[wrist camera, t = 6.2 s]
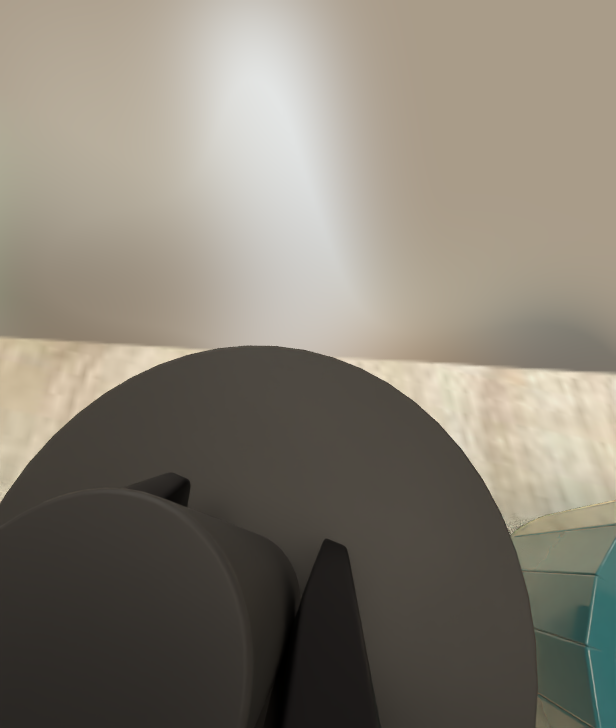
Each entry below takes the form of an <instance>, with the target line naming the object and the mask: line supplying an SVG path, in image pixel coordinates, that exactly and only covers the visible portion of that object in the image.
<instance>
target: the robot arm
mask: <svg viewBox="0 0 616 728" xmlns="http://www.w3.org/2000/svg"><path fill="white" fill-rule="evenodd" d="M123 488H126V489H132V490H137V491H143V492H146V493H149V494H152V495H155V496H158V497H161V498H164V499H167V500H169V501H172V502H174V503H177V504H180V505H182V506H185V507H188V500H189V494H190V488H191V483H190V481H189V480H188V479H187V478H185V477H182V476H180V475H178V474H175V473H172V472H169V473H165V474H162V475H159V476H156V477H153V478H150V479H147V480H144V481H141V482H138V483H135V484H132V485H129V486H126V487H123ZM263 728H381V725H380V720H379V714H378V709H377V704H376V698H375V693H374V688H373V682H372V677H371V671H370V666H369V661H368V655H367V650H366V645H365V639H364V634H363V629H362V623H361V618H360V613H359V607H358V602H357V597H356V591H355V586H354V580H353V575H352V570H351V564H350V559H349V554H348V550H347V548H346V547H345V546H344V545H342V544H339V543H337V542H335V541H332V540H330V539H324V540H323V542H322V545H321V547H320V550H319V553H318V555H317V558H316V560H315V563H314V566H313V568H312V571H311V573H310V576H309V579H308V581H307V584H306V586H305V590H304V593H303V596H302V599H301V602H300V605H299V608H298V611H297V614H296V617H295V620H294V623H293V626H292V629H291V632H290V635H289V639H288V643H287V647H286V651H285V654H284V658H283V661H282V664H281V666H280V669H279V671H278V673H277V676H276V678H275V681H274V685H273V689H272V692H271V696H270V700H269V704H268V708H267V713H266V717H265V721H264V725H263Z"/></svg>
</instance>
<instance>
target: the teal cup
mask: <svg viewBox="0 0 616 728" xmlns="http://www.w3.org/2000/svg"><path fill="white" fill-rule="evenodd" d="M510 537H511V539H512V542H513V544H514V547H515V549H516V552H517V555H518V559H519V562H520V566H521V569H522V573H523V577H524V580H525V584H526V587H527V591H528V595H529V601H530V607H531V613H532V620H533V626H534V632H535V638H536V655H537V676H538V697H537V712H536V727H535V728H616V500H613V501H608V502H603V503H598V504H593V505H589V506H584V507H579V508H574V509H570V510H566V511H562V512H557V513H553V514H549V515H545V516H542V517H539V518H537V519H535V520H532V521H530V522H528V523H527V524H525V525H524V526H522V527H520V528H519V529H517V530H516V531H515V532H514V533H513V534H512V535H510Z"/></svg>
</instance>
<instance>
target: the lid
mask: <svg viewBox="0 0 616 728" xmlns="http://www.w3.org/2000/svg"><path fill="white" fill-rule="evenodd" d="M169 472H172V473H175V474H178V475H180V476H182V477H185V478H187V479H188V480H189V481H190V483H191V488H190V494H189V500H188V507H185V506H182V505H180V504H177V503H174V502H172V501H169V500H167V499H164V498H161V497H158V496H155V495H152V494H149V493H146V492H143V491H137V490H132V489H126V488H123V487H126V486H129V485H132V484H135V483H138V482H141V481H144V480H147V479H150V478H153V477H156V476H159V475H162V474H165V473H169ZM324 539H330V540H332V541H335V542H337V543H339V544H342V545H344V546H345V547H346V548H347V550H348V554H349V559H350V564H351V570H352V575H353V580H354V586H355V591H356V597H357V602H358V607H359V613H360V618H361V623H362V629H363V634H364V639H365V645H366V650H367V655H368V661H369V666H370V671H371V677H372V682H373V688H374V693H375V698H376V704H377V709H378V714H379V720H380V725H381V728H535V727H536V712H537V697H538V676H537V655H536V638H535V632H534V626H533V620H532V613H531V607H530V601H529V595H528V591H527V587H526V584H525V580H524V577H523V573H522V569H521V566H520V562H519V559H518V555H517V552H516V549H515V547H514V544H513V542H512V539H511V537H510V534H509V532H508V529H507V527H506V524H505V522H504V519H503V517H502V514H501V512H500V511H499V509H498V507H497V505H496V503H495V501H494V499H493V498H492V496H491V494H490V492H489V490H488V488H487V486H486V485H485V483H484V481H483V479H482V478H481V476H480V475H479V473H478V472H477V471H476V469H475V468H474V466H473V465H472V463H471V462H470V461H469V459H468V458H467V456H466V455H465V453H464V452H463V451H462V449H461V448H460V447H459V446H458V445H457V444H456V442H455V441H454V440H453V439H452V438H451V437H450V436H449V435H448V433H447V432H446V431H445V430H444V429H443V428H442V427H441V425H440V424H439V423H438V422H437V421H435V420H434V419H433V418H432V417H431V416H430V415H429V414H428V413H426V412H425V411H424V410H423V409H422V408H421V407H420V406H419V405H418V404H416V403H415V402H414V401H413V400H411V399H410V398H409V397H407V396H406V395H404V394H403V393H401V392H400V391H399V390H397V389H396V388H394V387H393V386H392V385H390V384H389V383H387V382H385V381H383V380H381V379H380V378H378V377H376V376H374V375H372V374H370V373H368V372H367V371H365V370H363V369H361V368H359V367H356V366H353V365H351V364H348V363H346V362H343V361H341V360H338V359H336V358H333V357H329V356H325V355H322V354H318V353H314V352H310V351H306V350H300V349H293V348H286V347H278V346H238V347H228V348H218V349H213V350H208V351H204V352H199V353H194V354H190V355H186V356H183V357H180V358H177V359H174V360H171V361H168V362H166V363H163V364H160V365H158V366H155V367H153V368H151V369H149V370H147V371H145V372H142V373H140V374H138V375H136V376H134V377H132V378H130V379H128V380H127V381H125V382H123V383H122V384H120V385H118V386H116V387H115V388H113V389H111V390H110V391H108V392H106V393H105V394H103V395H102V396H101V397H99V398H98V399H97V400H95V401H94V402H93V403H91V404H90V405H89V406H87V407H86V408H85V409H83V410H82V411H81V412H79V413H78V414H77V415H76V416H75V417H73V418H72V419H71V420H70V421H69V422H68V423H67V424H66V425H65V426H64V427H63V428H61V429H60V430H59V431H58V432H57V433H56V434H55V435H54V436H53V437H52V438H51V439H50V440H49V441H48V442H47V443H46V444H45V446H44V447H43V448H42V449H41V450H40V451H39V452H38V453H37V455H36V456H35V457H34V458H33V459H32V460H31V461H30V462H29V464H28V465H27V466H26V467H25V469H24V470H23V472H22V473H21V474H20V476H19V477H18V478H17V480H16V481H15V483H14V484H13V485H12V487H11V488H10V489H9V491H8V492H7V493H6V495H5V497H4V498H3V500H2V502H1V503H0V728H263V725H264V721H265V717H266V713H267V708H268V704H269V700H270V696H271V692H272V689H273V685H274V681H275V678H276V676H277V673H278V671H279V669H280V666H281V664H282V661H283V658H284V654H285V651H286V647H287V643H288V639H289V635H290V632H291V629H292V626H293V623H294V620H295V617H296V614H297V611H298V608H299V605H300V602H301V599H302V596H303V593H304V590H305V586H306V584H307V581H308V579H309V576H310V573H311V571H312V568H313V566H314V563H315V560H316V558H317V555H318V553H319V550H320V547H321V545H322V542H323V540H324Z"/></svg>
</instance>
